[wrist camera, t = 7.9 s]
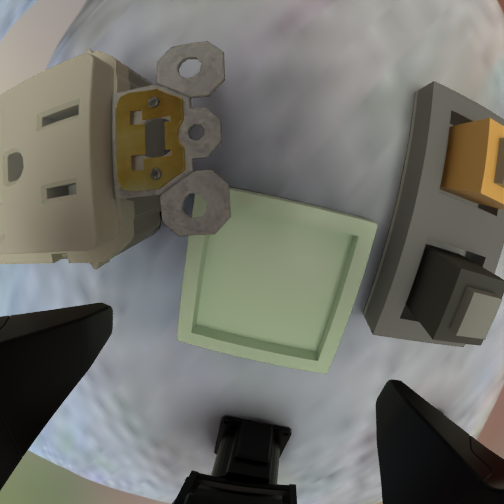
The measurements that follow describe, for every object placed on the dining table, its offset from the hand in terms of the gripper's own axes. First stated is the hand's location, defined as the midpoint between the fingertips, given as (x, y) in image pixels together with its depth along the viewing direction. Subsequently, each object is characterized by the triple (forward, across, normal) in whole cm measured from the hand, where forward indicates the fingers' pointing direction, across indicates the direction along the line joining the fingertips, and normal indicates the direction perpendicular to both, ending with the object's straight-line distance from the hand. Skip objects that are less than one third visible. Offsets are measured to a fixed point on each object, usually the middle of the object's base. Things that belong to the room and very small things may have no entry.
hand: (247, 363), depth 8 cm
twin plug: (+11, -11, -2) cm, 16 cm away
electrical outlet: (+12, +17, -3) cm, 21 cm away
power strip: (+12, -11, -6) cm, 17 cm away
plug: (+11, -11, -10) cm, 18 cm away
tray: (+12, 0, +1) cm, 12 cm away
